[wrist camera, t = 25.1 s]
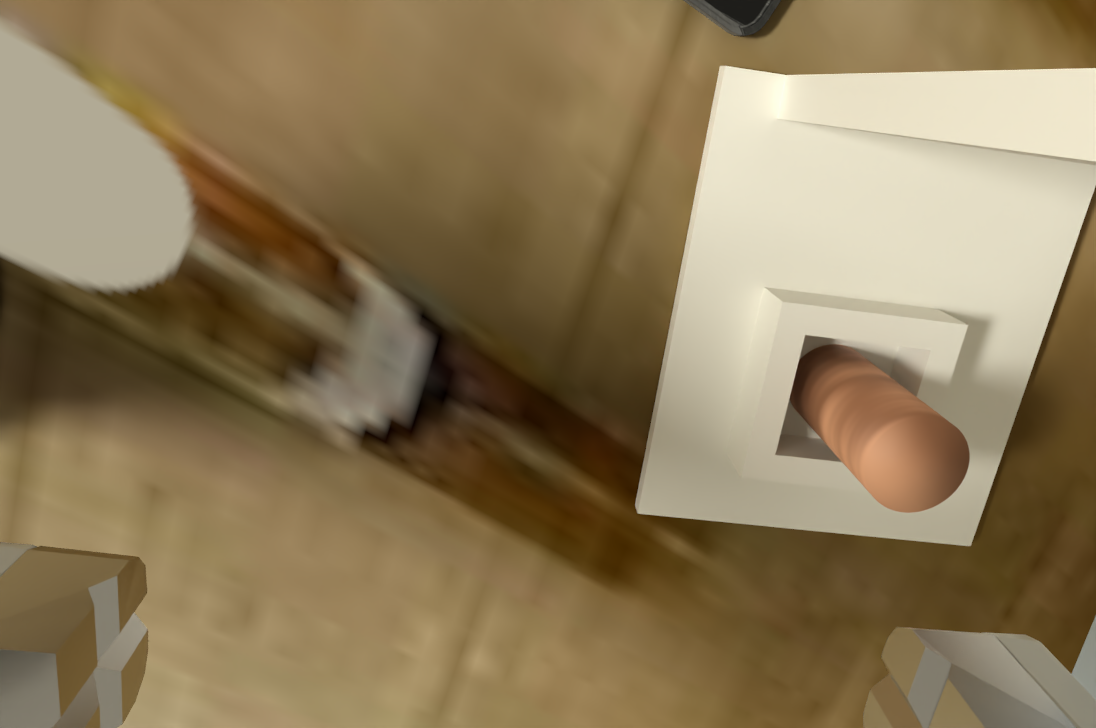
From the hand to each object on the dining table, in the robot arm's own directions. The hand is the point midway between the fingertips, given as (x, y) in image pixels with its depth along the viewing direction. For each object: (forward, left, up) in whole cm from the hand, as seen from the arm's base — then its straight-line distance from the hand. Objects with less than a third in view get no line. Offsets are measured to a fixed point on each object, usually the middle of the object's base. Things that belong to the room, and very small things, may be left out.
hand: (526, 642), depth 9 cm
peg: (+14, -14, -33) cm, 39 cm away
